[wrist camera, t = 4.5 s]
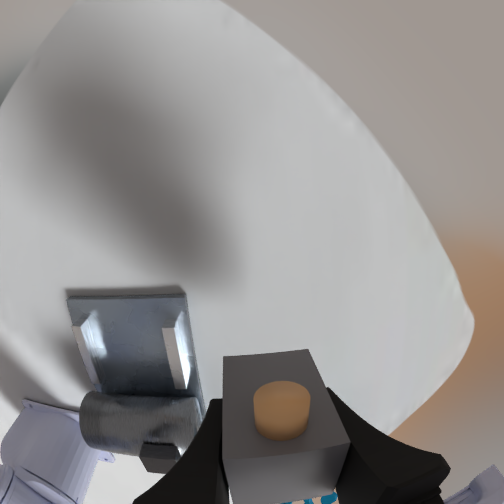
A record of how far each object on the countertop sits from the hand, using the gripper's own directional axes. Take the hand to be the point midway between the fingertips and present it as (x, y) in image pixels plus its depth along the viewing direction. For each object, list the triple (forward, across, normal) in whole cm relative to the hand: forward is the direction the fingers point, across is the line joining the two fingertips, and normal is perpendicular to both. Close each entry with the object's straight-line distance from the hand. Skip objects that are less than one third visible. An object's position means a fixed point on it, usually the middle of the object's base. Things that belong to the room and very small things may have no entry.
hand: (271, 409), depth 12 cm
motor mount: (+8, +9, +3) cm, 12 cm away
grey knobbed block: (+2, 0, 0) cm, 2 cm away
